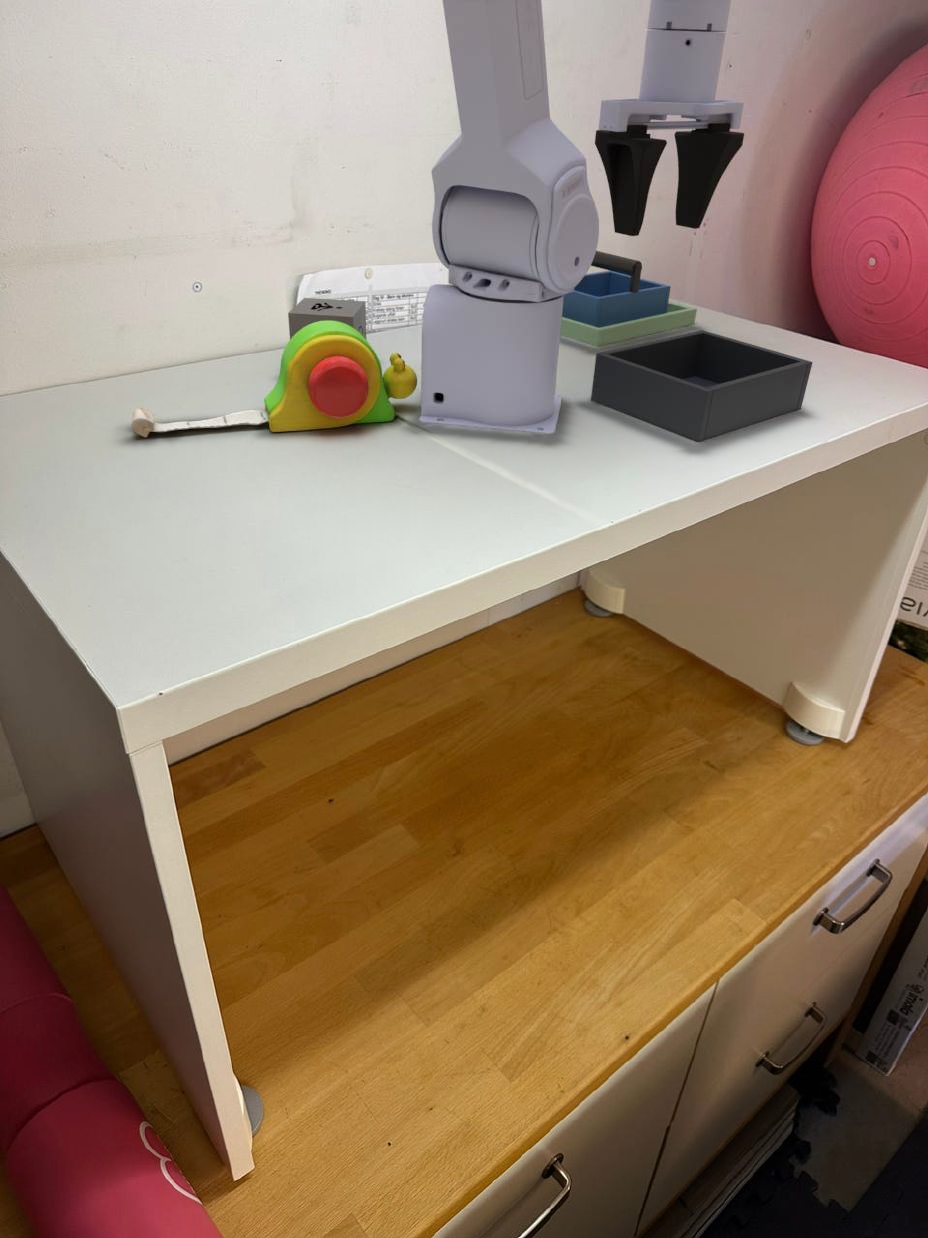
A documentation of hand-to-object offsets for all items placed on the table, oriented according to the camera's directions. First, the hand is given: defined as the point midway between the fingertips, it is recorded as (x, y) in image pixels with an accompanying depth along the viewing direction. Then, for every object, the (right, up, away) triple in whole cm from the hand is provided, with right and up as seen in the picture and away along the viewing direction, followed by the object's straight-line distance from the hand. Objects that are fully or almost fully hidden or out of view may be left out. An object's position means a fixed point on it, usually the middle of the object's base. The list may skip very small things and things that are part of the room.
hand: (657, 230), depth 73 cm
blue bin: (-3, -3, +14) cm, 15 cm away
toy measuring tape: (-29, -18, -11) cm, 36 cm away
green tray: (-3, -3, +14) cm, 15 cm away
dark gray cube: (-27, -12, -1) cm, 29 cm away
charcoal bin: (+2, -16, -6) cm, 17 cm away
